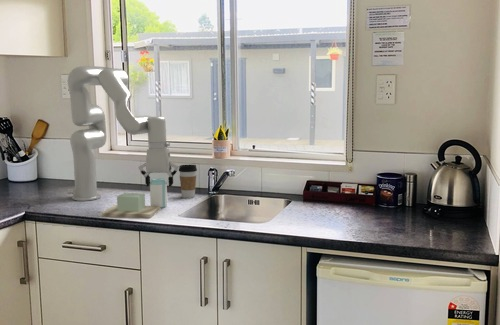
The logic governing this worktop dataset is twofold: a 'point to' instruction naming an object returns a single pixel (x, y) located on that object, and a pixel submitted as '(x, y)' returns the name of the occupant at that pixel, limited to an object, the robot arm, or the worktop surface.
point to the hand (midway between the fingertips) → (159, 185)
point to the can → (158, 192)
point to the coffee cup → (188, 180)
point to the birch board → (144, 213)
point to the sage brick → (131, 202)
